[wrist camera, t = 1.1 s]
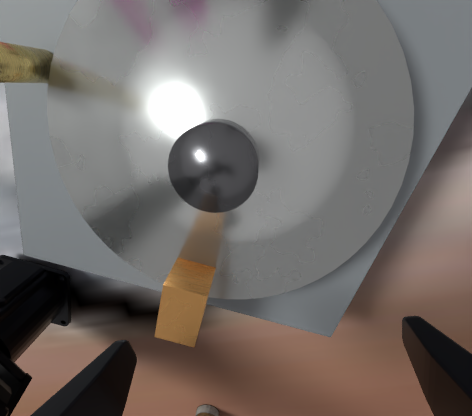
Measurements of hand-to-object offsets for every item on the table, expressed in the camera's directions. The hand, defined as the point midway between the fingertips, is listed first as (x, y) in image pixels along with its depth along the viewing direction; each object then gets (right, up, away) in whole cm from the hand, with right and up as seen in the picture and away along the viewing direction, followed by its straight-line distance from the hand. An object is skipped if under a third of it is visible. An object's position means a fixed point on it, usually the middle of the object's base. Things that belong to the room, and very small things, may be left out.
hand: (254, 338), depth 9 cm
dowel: (-11, +12, +5) cm, 17 cm away
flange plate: (-1, +7, +6) cm, 9 cm away
